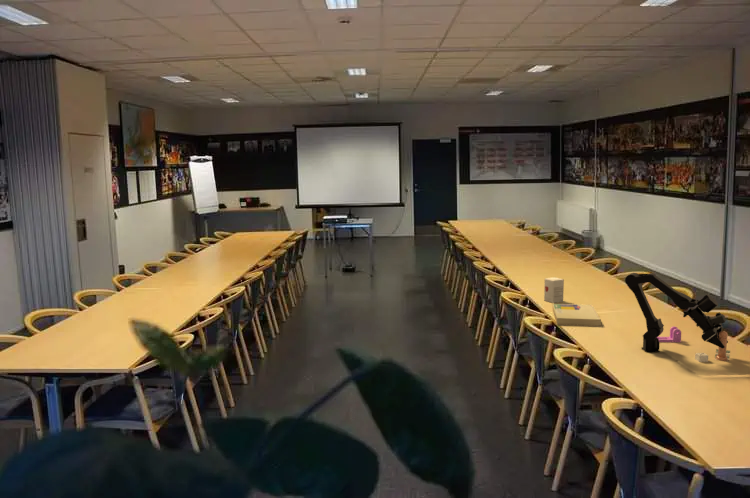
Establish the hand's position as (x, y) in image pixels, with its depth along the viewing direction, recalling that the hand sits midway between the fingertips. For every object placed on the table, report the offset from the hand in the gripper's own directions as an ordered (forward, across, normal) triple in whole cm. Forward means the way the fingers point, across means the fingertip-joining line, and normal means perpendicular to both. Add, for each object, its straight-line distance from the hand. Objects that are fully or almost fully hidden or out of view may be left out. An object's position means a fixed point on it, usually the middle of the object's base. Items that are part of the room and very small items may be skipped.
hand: (725, 345), depth 293 cm
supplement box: (-72, +76, +83) cm, 134 cm away
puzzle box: (-54, +43, +65) cm, 95 cm away
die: (-1, -6, +12) cm, 13 cm away
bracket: (-16, +21, +27) cm, 37 cm away
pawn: (+4, 0, +6) cm, 7 cm away
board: (+4, +7, +7) cm, 10 cm away
